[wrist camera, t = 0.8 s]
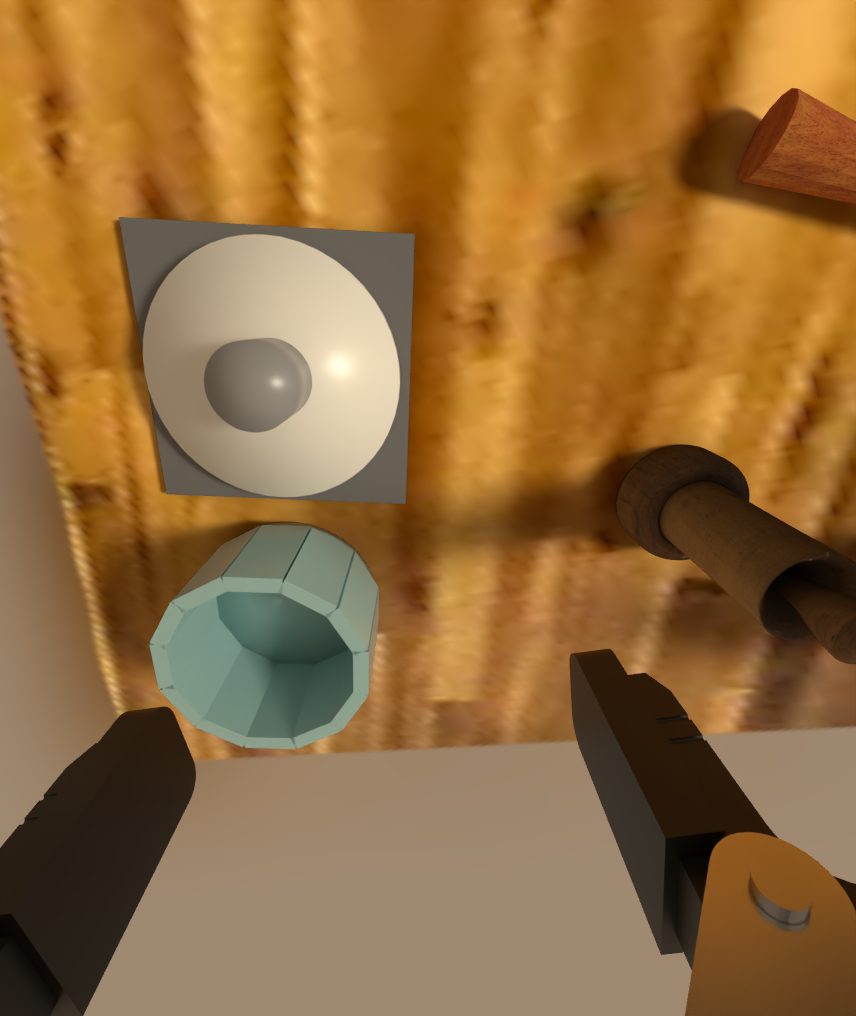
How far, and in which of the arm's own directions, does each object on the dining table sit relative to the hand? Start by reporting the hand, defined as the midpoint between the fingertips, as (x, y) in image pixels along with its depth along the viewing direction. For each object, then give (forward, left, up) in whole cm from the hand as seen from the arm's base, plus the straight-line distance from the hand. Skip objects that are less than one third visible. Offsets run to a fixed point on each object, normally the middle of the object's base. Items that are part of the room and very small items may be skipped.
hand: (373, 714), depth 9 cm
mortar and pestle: (+2, +16, -20) cm, 25 cm away
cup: (+10, -7, -19) cm, 23 cm away
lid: (-4, -7, -19) cm, 20 cm away
